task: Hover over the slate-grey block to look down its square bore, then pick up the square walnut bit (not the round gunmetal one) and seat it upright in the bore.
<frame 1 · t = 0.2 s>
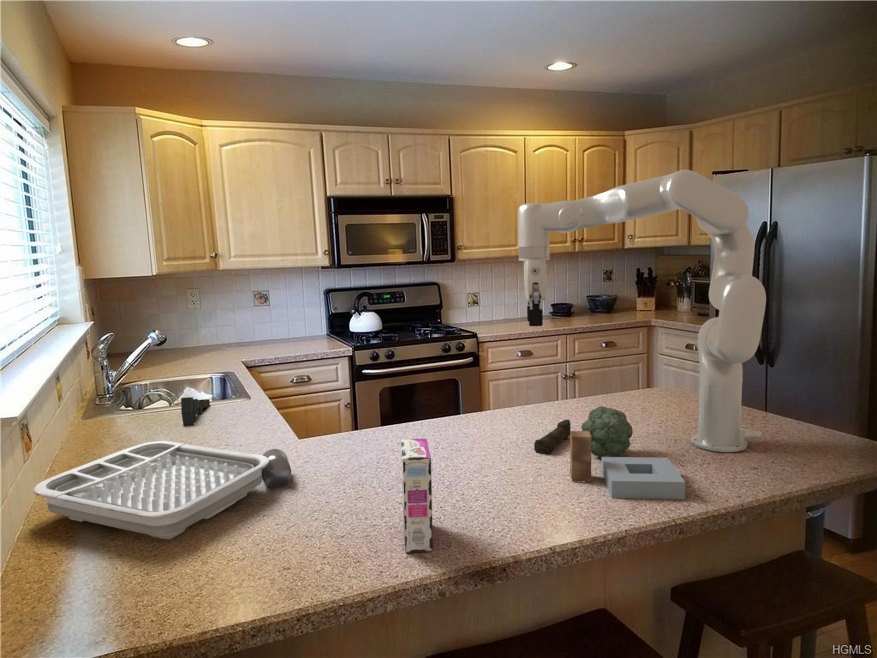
hand: (534, 323, 152), 31 cm above the counter, tool pointing down, fingers open, 9 cm apart
candy bar box: (418, 538, 107), on the counter
socket block: (640, 484, 128), on the counter
dish rack: (160, 508, 124), on the counter
charcoal colored rounded log: (554, 444, 156), on the counter
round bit: (274, 462, 140), point 3 cm above the counter, tilted 90°
square bit: (580, 478, 132), on the counter
vegetable: (602, 453, 148), on the counter
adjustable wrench: (198, 416, 194), on the counter
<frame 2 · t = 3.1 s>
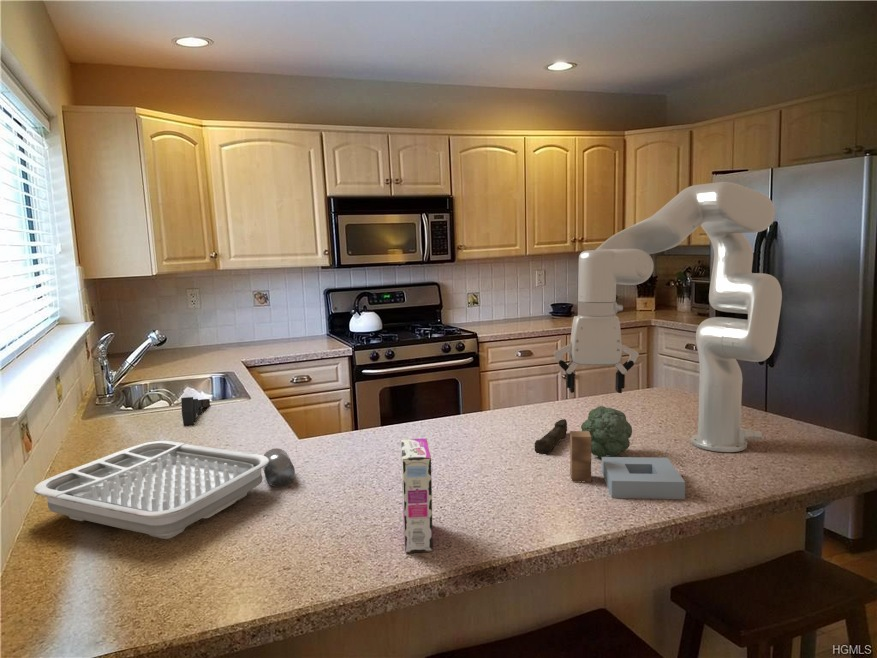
hand: (595, 391, 128), 19 cm above the counter, tool pointing down, fingers open, 9 cm apart
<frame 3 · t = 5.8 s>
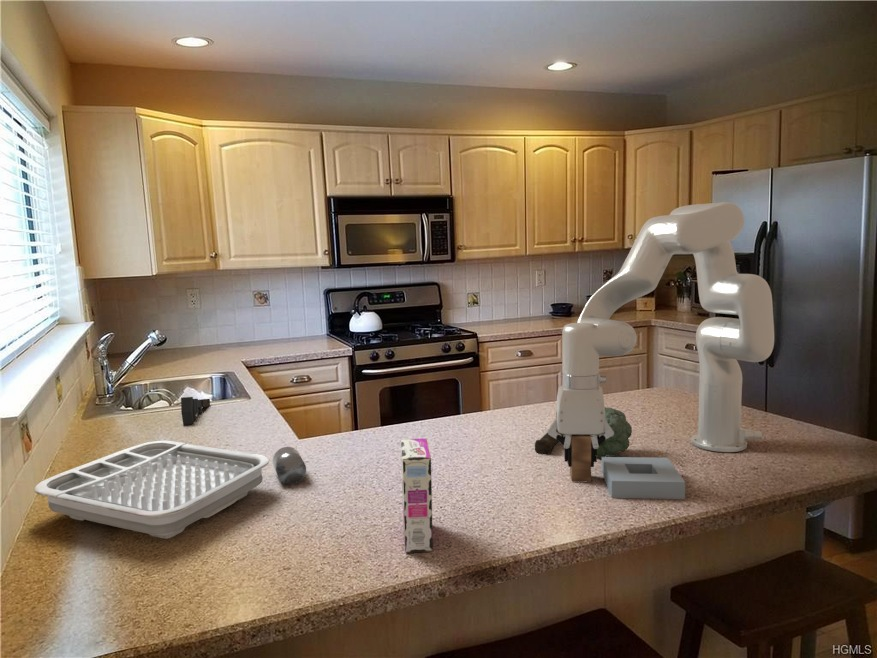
hand: (580, 463, 132), 3 cm above the counter, tool pointing down, fingers closed on square bit, 4 cm apart
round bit: (286, 459, 141), point 3 cm above the counter, tilted 90°
square bit: (580, 478, 132), on the counter, touching gripper
everything else where it was.
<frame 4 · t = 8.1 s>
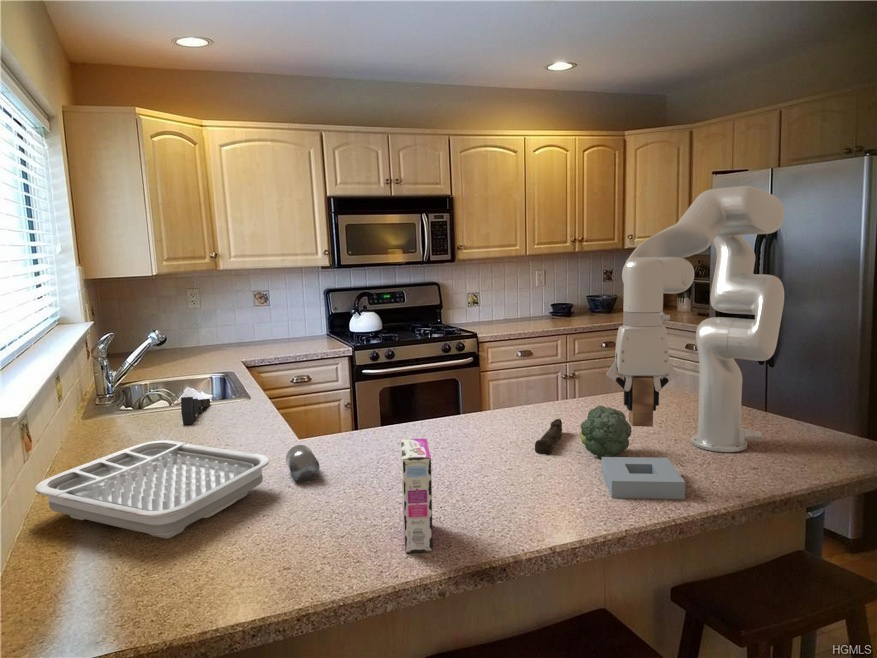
hand: (640, 408, 125), 17 cm above the counter, tool pointing down, fingers closed on square bit, 4 cm apart
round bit: (299, 457, 142), point 3 cm above the counter, tilted 90°
square bit: (640, 423, 126), point 13 cm above the counter, touching gripper
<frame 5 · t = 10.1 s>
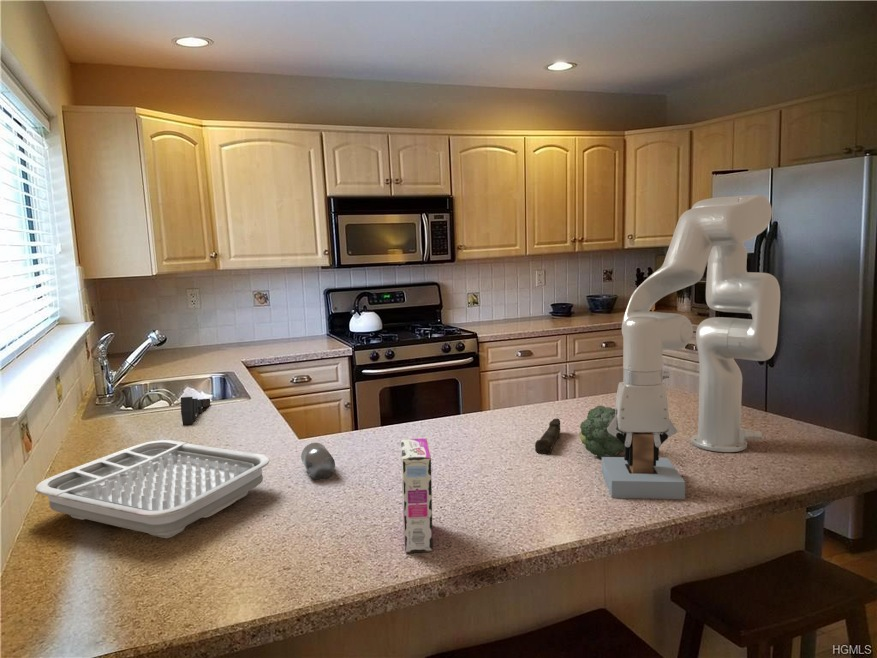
hand: (641, 462, 127), 5 cm above the counter, tool pointing down, fingers closed on square bit, 4 cm apart
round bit: (314, 455, 143), point 3 cm above the counter, tilted 90°
square bit: (641, 478, 127), point 1 cm above the counter, touching gripper
when the fingers open (5 cm above the counter, at t = 10.6 s): square bit drops 1 cm, resting in socket block.
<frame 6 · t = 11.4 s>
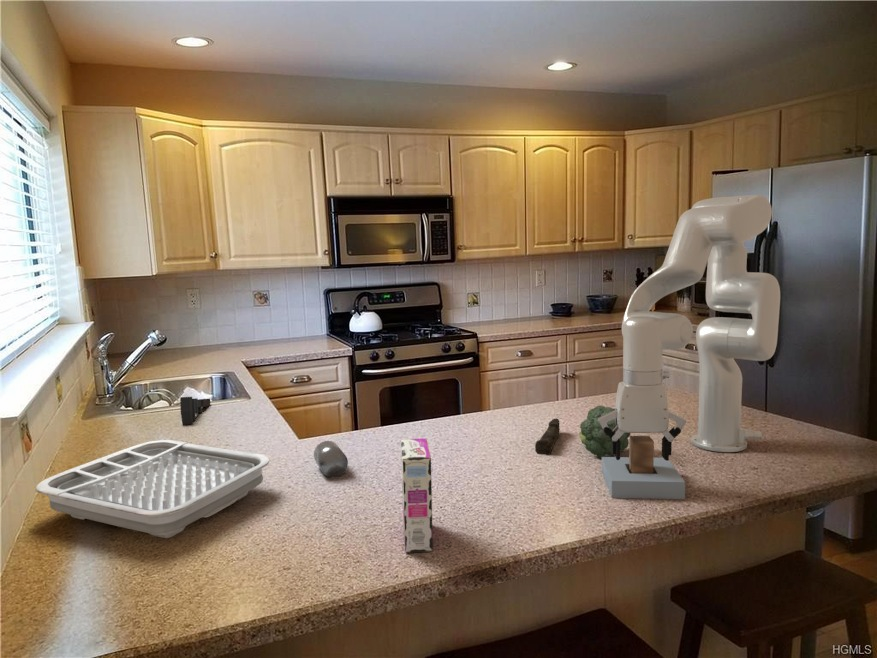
hand: (641, 458, 127), 6 cm above the counter, tool pointing down, fingers open, 9 cm apart
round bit: (326, 453, 144), point 3 cm above the counter, tilted 90°
square bit: (640, 484, 128), resting in socket block
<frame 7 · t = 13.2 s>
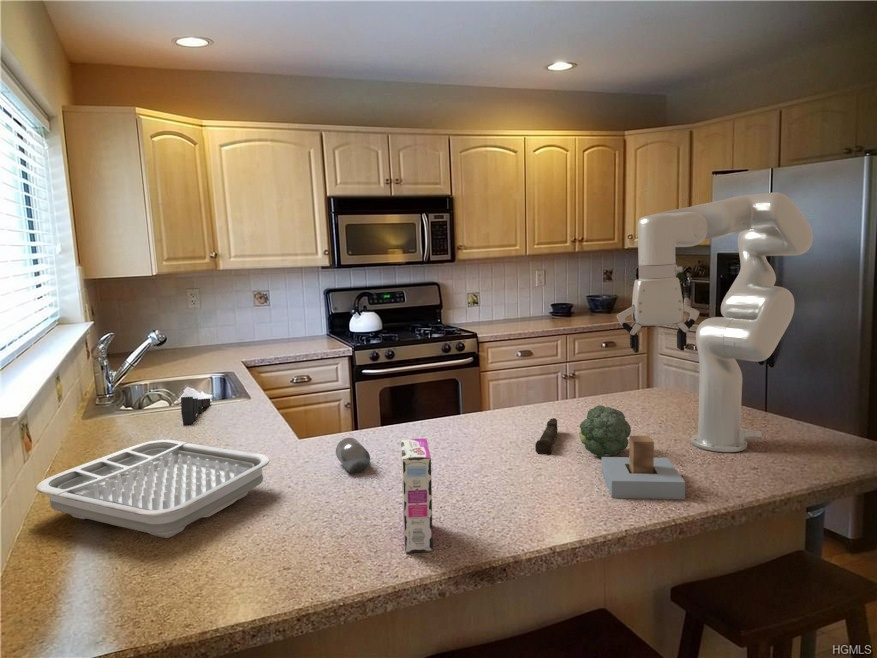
hand: (658, 350, 135), 26 cm above the counter, tool pointing down, fingers open, 9 cm apart
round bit: (348, 450, 146), point 3 cm above the counter, tilted 90°
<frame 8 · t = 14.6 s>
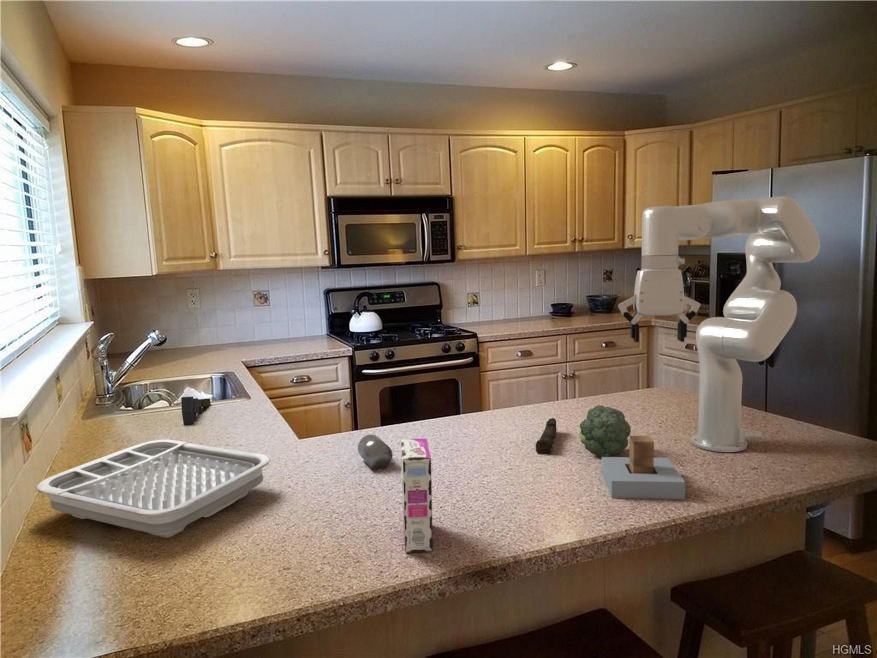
hand: (658, 341, 136), 28 cm above the counter, tool pointing down, fingers open, 9 cm apart
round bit: (370, 447, 148), point 3 cm above the counter, tilted 90°
at the end: square bit 0.0 cm off-centre on the socket block, point 0.0 cm above the socket block's base; square bit tilted 0°; the gripper is holding nothing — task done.
